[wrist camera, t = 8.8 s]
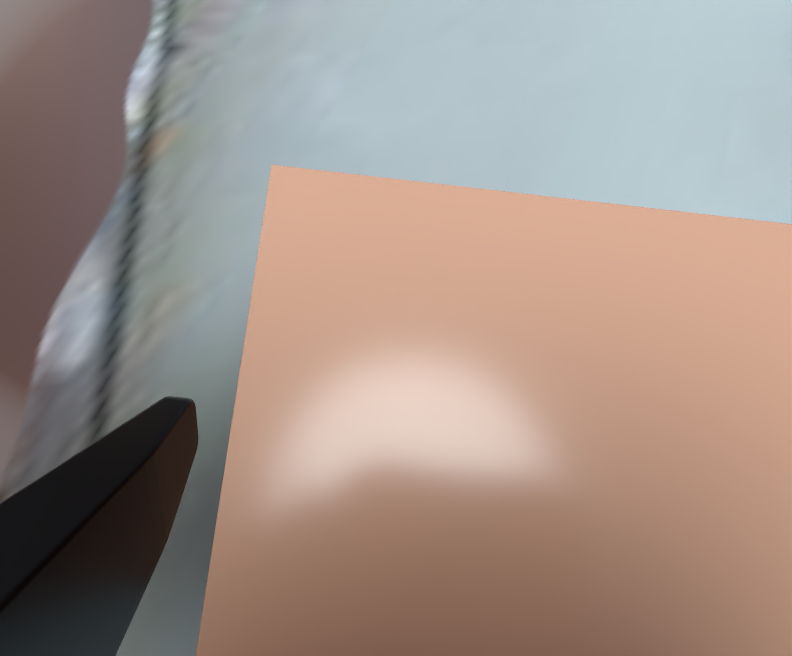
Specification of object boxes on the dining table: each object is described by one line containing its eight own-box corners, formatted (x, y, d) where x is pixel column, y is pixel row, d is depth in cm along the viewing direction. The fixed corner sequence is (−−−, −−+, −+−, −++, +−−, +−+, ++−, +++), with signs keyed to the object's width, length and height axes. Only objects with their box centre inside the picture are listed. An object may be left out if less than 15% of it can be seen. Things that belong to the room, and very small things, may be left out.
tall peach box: (494, 562, 15) (994, 1007, 3) (315, 549, 15) (143, 985, 3) (501, 384, 17) (881, 235, 5) (335, 369, 16) (271, 165, 4)
